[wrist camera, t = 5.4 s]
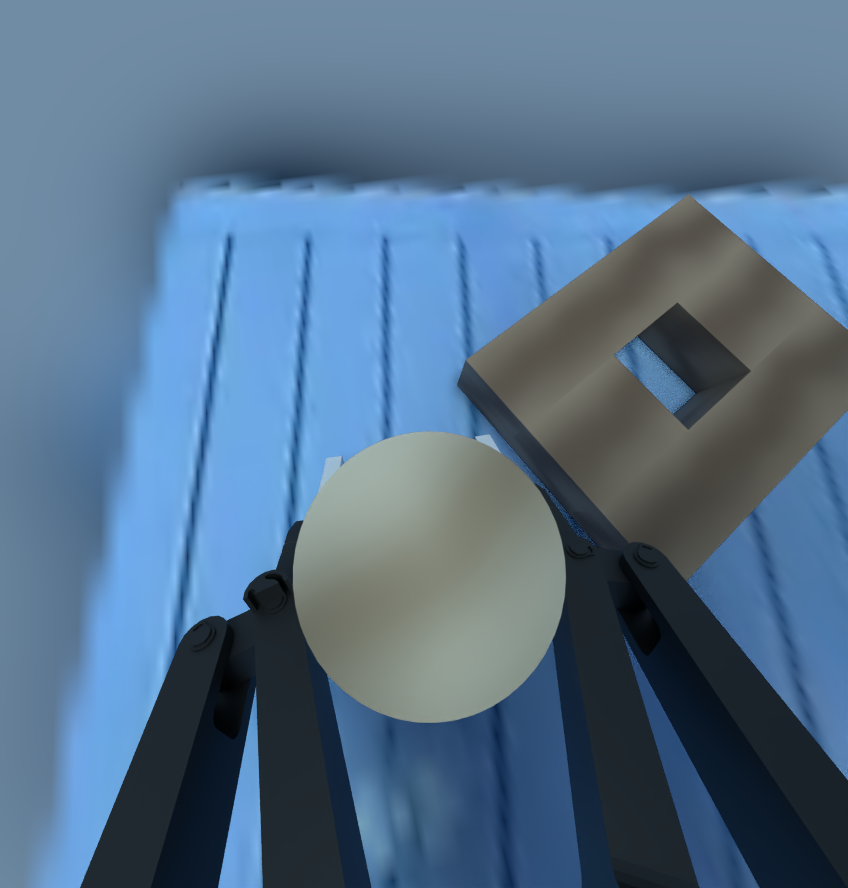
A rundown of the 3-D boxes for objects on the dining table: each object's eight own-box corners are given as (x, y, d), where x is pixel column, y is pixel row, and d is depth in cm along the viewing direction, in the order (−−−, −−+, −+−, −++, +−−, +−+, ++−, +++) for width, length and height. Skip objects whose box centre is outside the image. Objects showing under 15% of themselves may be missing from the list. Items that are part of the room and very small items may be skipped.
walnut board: (813, 388, 22) (889, 365, 18) (625, 578, 18) (674, 594, 15) (649, 239, 24) (688, 194, 20) (457, 384, 21) (465, 360, 17)
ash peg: (499, 540, 19) (624, 584, 8) (411, 618, 17) (408, 803, 6) (429, 454, 20) (448, 382, 9) (342, 522, 18) (235, 541, 7)
